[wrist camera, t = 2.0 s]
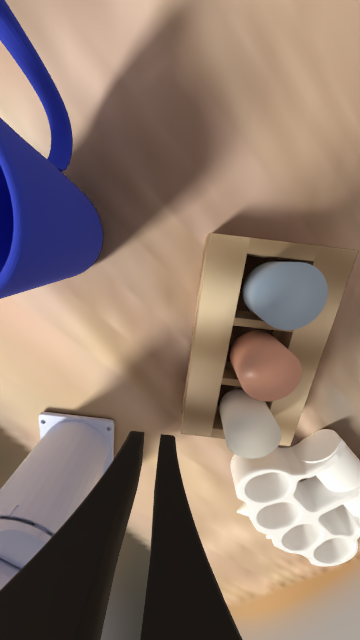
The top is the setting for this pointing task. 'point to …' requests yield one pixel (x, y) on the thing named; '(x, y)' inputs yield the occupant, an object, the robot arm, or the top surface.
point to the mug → (40, 189)
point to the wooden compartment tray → (220, 315)
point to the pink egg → (264, 366)
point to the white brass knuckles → (304, 497)
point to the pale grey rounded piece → (248, 425)
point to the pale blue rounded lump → (285, 293)
